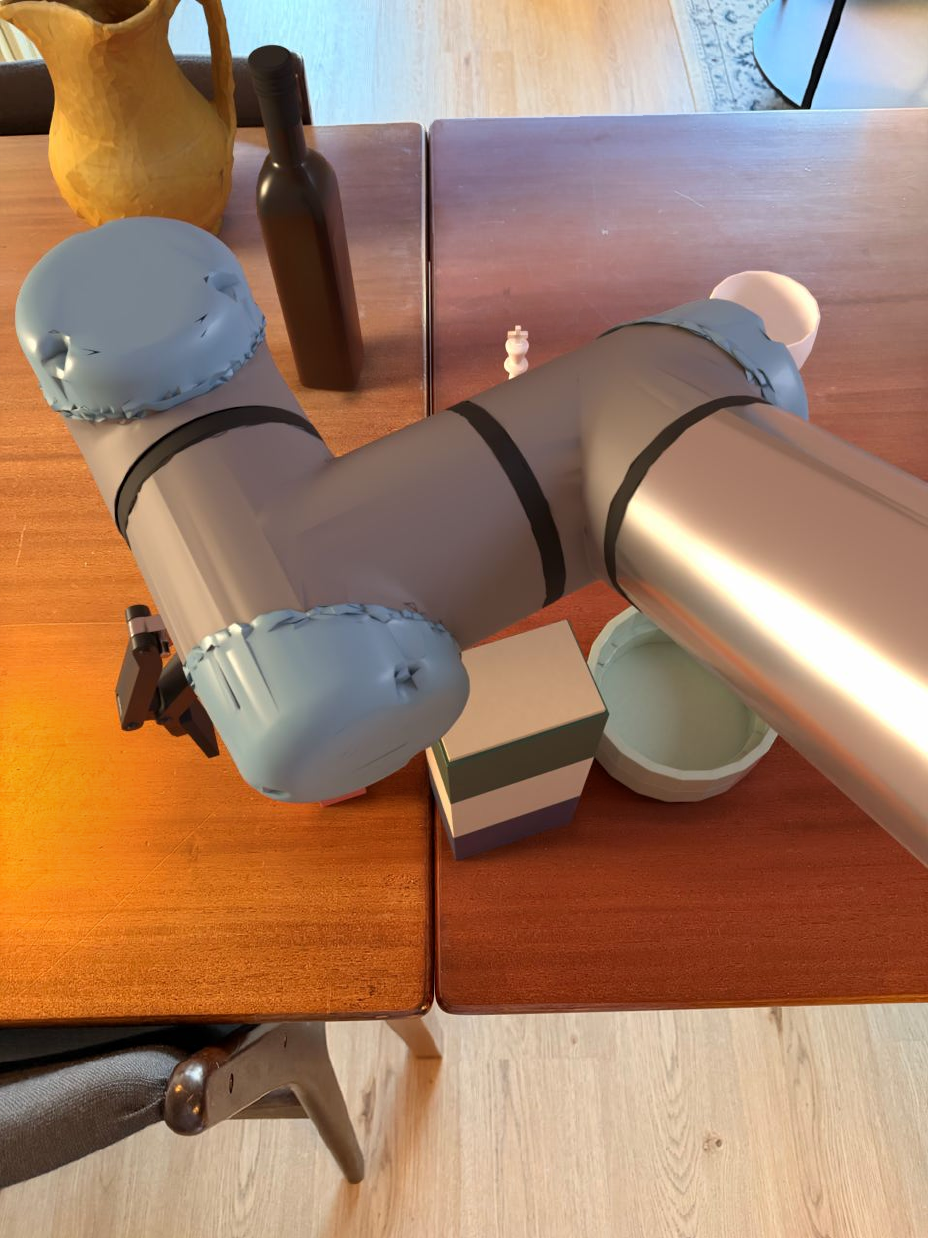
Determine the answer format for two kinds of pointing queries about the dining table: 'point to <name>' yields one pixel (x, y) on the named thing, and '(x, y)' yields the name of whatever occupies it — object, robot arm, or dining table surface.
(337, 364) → the wine bottle
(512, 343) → the chess piece
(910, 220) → the dining table surface
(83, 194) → the pitcher
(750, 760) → the bowl
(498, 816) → the book stack
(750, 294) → the cup
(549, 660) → the felt pad
